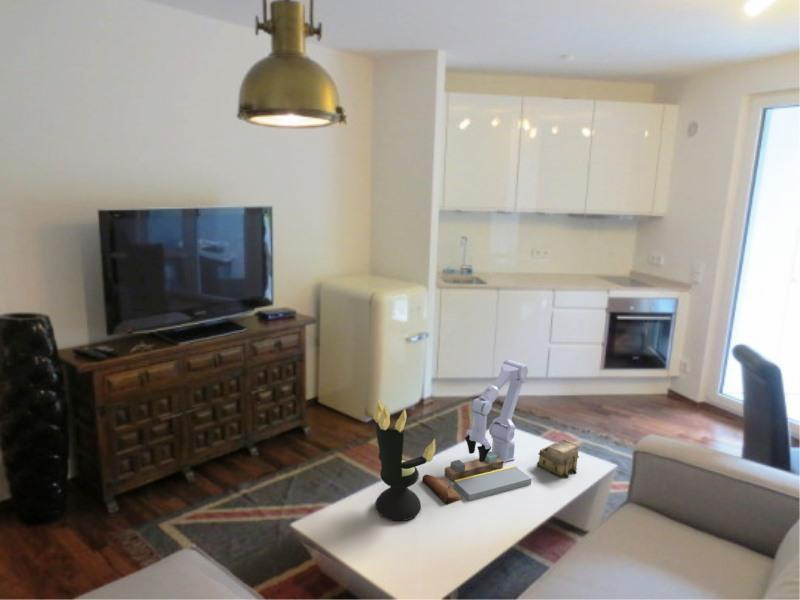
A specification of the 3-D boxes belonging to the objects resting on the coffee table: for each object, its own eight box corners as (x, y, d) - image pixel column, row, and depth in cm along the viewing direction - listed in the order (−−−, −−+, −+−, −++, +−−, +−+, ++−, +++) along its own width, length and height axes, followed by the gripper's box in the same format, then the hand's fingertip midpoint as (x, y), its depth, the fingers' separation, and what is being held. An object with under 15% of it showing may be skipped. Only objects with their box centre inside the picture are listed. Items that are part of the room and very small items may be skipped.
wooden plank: (494, 463, 241) (495, 454, 240) (502, 469, 236) (503, 460, 236) (444, 476, 229) (445, 467, 228) (451, 483, 224) (452, 474, 223)
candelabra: (433, 507, 206) (440, 394, 196) (399, 537, 188) (405, 414, 178) (392, 490, 216) (396, 381, 206) (356, 517, 198) (359, 399, 188)
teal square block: (490, 456, 238) (490, 451, 238) (496, 461, 235) (497, 455, 234) (482, 458, 237) (483, 453, 236) (489, 463, 233) (489, 457, 232)
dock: (513, 471, 234) (514, 465, 233) (530, 484, 225) (531, 478, 224) (453, 486, 221) (454, 480, 220) (469, 500, 211) (469, 494, 211)
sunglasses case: (464, 499, 212) (458, 487, 209) (451, 511, 210) (444, 500, 207) (439, 476, 227) (432, 465, 224) (426, 488, 225) (419, 477, 222)
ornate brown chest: (582, 470, 238) (585, 445, 235) (563, 480, 229) (566, 455, 226) (553, 456, 249) (555, 432, 246) (534, 465, 240) (536, 441, 237)
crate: (458, 465, 230) (459, 459, 230) (464, 470, 226) (465, 464, 226) (450, 467, 228) (450, 461, 228) (456, 472, 224) (457, 466, 224)
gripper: (461, 421, 233) (459, 451, 236) (481, 436, 221) (478, 467, 224) (475, 419, 236) (473, 448, 239) (495, 433, 224) (492, 463, 227)
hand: (476, 457), depth 232 cm, fingers open, 7 cm apart
